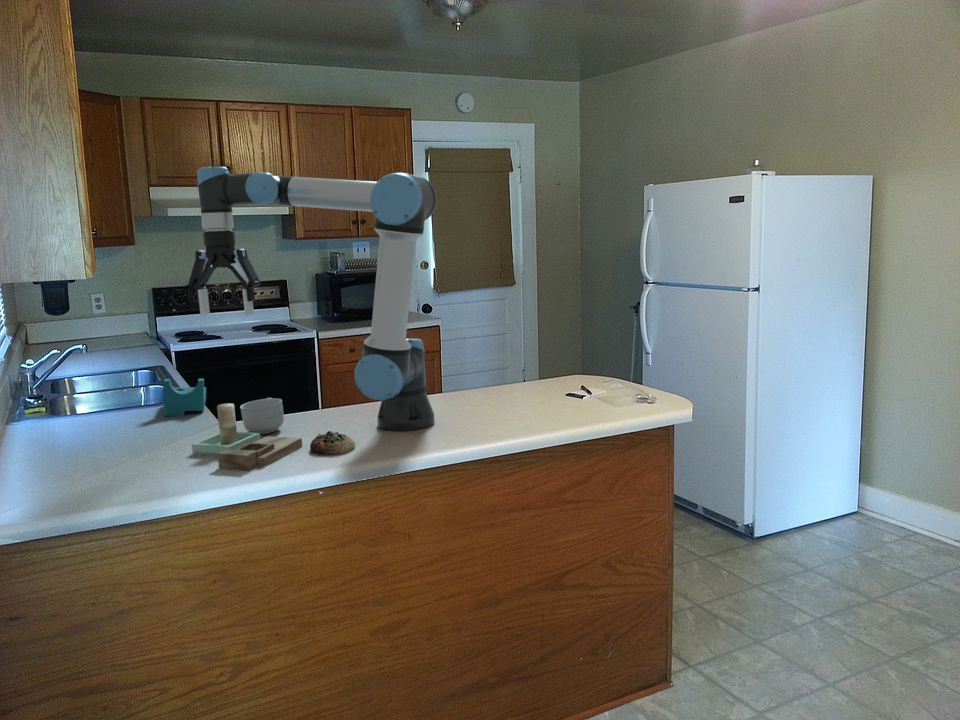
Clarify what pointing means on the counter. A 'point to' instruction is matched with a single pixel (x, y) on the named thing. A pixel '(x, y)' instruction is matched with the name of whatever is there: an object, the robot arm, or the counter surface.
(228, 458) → the block
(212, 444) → the tray
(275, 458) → the brown slotted slab
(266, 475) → the counter surface
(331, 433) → the bread roll
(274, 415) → the teacup
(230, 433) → the dowel
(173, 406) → the teal notched cradle
